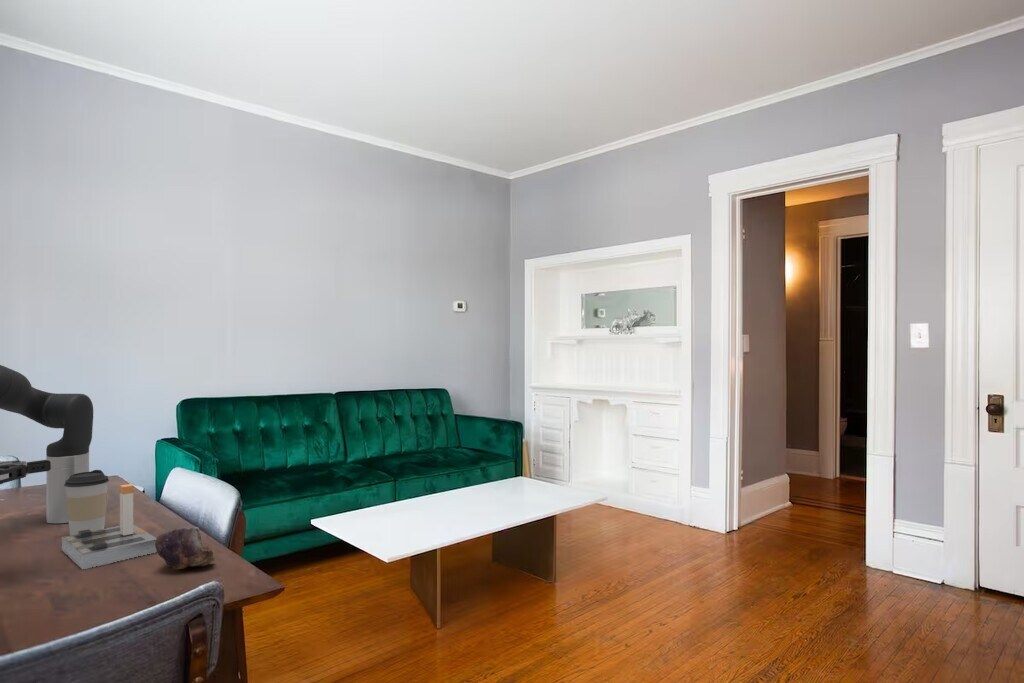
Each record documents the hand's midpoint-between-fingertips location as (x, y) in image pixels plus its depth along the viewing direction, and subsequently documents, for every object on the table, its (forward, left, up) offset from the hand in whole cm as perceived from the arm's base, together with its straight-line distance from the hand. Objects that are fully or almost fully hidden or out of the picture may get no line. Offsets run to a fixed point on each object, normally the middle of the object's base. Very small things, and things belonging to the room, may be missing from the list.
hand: (49, 464), depth 130 cm
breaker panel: (0, +11, -21) cm, 23 cm away
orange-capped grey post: (0, +14, -18) cm, 23 cm away
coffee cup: (-19, +11, -21) cm, 30 cm away
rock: (+22, +18, -21) cm, 36 cm away
